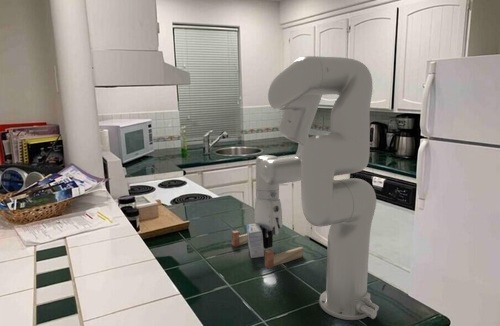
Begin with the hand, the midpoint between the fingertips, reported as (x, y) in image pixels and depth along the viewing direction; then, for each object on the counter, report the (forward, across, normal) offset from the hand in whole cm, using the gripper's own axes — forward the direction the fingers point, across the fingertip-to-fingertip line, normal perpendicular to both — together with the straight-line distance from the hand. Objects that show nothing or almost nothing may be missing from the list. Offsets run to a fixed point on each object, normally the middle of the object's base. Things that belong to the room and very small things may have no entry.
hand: (267, 246), depth 122 cm
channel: (+1, 0, 0) cm, 1 cm away
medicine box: (+1, 0, +4) cm, 4 cm away
